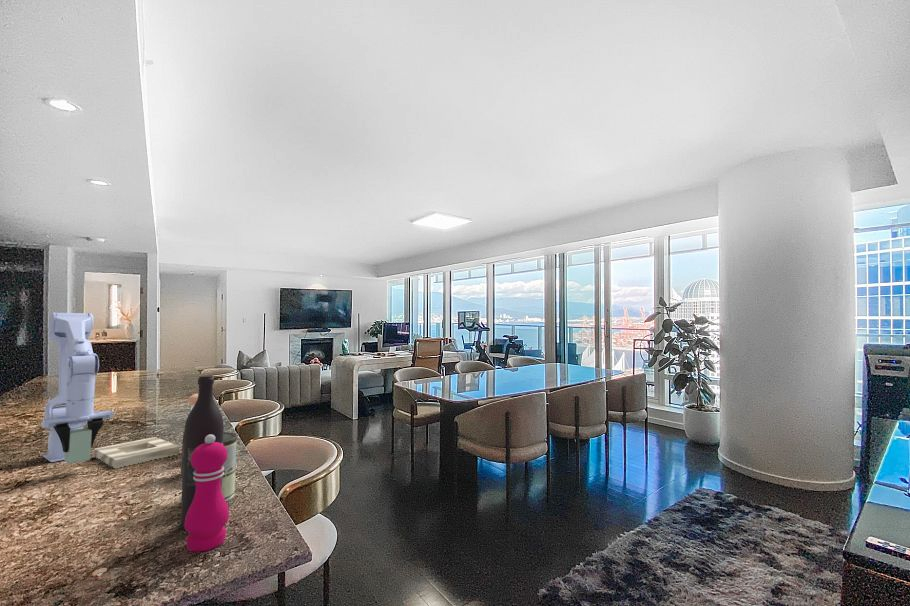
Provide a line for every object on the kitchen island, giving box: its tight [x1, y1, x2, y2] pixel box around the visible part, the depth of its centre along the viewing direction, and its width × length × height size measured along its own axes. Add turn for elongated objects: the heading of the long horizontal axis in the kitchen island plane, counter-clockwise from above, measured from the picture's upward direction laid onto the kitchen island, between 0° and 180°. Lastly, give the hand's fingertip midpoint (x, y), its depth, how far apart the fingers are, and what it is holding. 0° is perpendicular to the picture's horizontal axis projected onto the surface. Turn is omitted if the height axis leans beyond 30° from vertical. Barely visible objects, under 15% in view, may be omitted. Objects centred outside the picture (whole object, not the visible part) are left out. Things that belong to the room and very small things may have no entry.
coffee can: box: [222, 431, 238, 503], centre depth 97 cm, size 10×10×14 cm
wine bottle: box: [180, 374, 225, 531], centre depth 85 cm, size 7×7×30 cm
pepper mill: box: [184, 434, 230, 553], centre depth 78 cm, size 7×7×20 cm
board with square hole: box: [93, 436, 180, 470], centre depth 127 cm, size 18×16×2 cm
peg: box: [63, 427, 92, 465], centre depth 113 cm, size 4×4×8 cm
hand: (77, 449), depth 113 cm, fingers closed on peg, 4 cm apart
